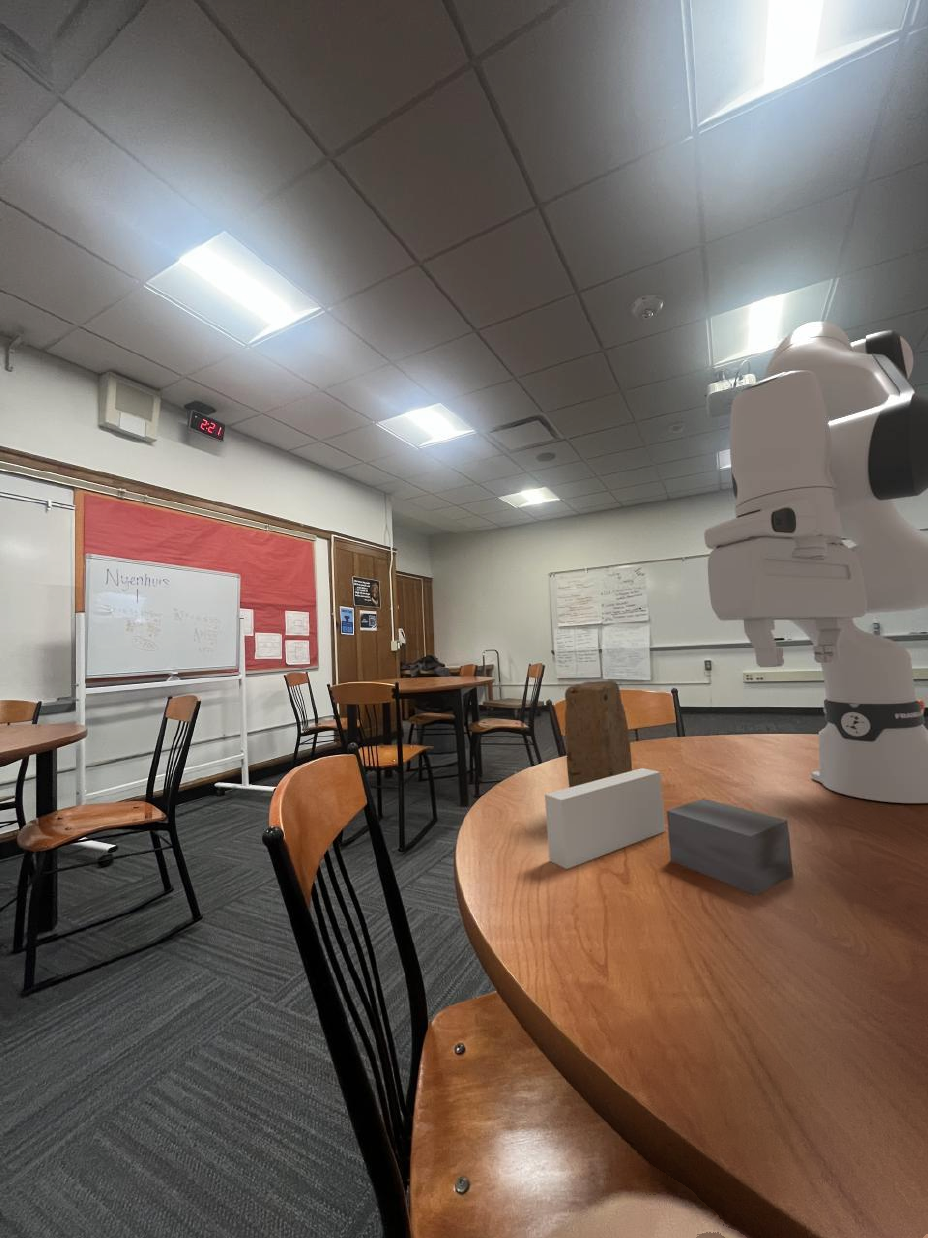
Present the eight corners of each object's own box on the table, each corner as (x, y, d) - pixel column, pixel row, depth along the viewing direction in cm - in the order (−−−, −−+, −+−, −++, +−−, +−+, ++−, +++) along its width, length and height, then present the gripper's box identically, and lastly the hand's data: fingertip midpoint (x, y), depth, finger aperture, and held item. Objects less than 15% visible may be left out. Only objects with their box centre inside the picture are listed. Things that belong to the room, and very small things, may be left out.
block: (611, 824, 70) (600, 685, 71) (565, 815, 75) (555, 685, 76) (641, 803, 78) (631, 678, 79) (598, 796, 83) (589, 679, 84)
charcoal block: (707, 847, 61) (703, 798, 61) (793, 877, 52) (787, 820, 53) (671, 862, 58) (666, 810, 58) (756, 897, 49) (750, 836, 49)
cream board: (647, 825, 69) (642, 768, 69) (665, 831, 66) (660, 771, 67) (549, 860, 60) (544, 794, 60) (566, 869, 57) (561, 800, 57)
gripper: (814, 543, 57) (826, 660, 56) (691, 530, 48) (703, 669, 47) (878, 529, 51) (893, 659, 50) (752, 512, 43) (767, 669, 42)
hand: (800, 664), depth 49 cm, fingers open, 8 cm apart
